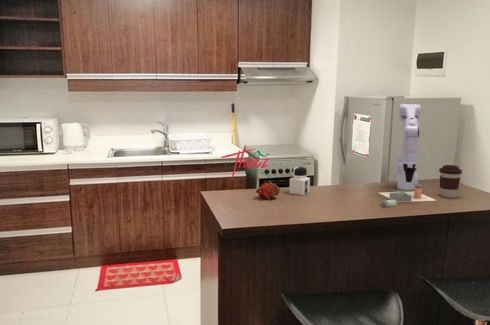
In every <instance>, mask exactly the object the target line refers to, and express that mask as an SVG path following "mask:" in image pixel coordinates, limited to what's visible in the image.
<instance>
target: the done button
mask: <svg viewBox="0 0 490 325" xmlns="http://www.w3.org/2000/svg"><path fill="white" fill-rule="evenodd" d="M395 192H396V195H398V196H405V192H406V191H405V190H396V191H395Z"/></svg>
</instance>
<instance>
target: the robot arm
mask: <svg viewBox="0 0 490 325" xmlns="http://www.w3.org/2000/svg"><path fill="white" fill-rule="evenodd" d="M421 106H422V105H421V104H420V103H417V104H416V103H413V104H412V103H409V104H408V103H400V104H399V111H398V120H399V121H401V122H402V123H403V136H402V138H403V139H402V152H401V153H400V154H399V155H398V156H397V157H396V161H395V172H397V183H396V184H397V190H398V189H399V190H400V191H412V190H413V191H414V190H415V184H419V175H418V174H417V173H416V172H417V168H418V167H417V166H418V164H417V163H418V160H417V159H418V147H419V146H418V145H419V138H420V134H421V126H420V125H419V120H420V116H421V111H422V110H421V109H422V107H421Z"/></svg>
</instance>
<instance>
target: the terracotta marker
mask: <svg viewBox="0 0 490 325" xmlns="http://www.w3.org/2000/svg"><path fill="white" fill-rule="evenodd" d="M413 191H414V197H415V198H421V194H422V192H423V184H419V183H418V184H415V189H414V190H413Z"/></svg>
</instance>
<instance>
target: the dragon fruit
mask: <svg viewBox="0 0 490 325" xmlns="http://www.w3.org/2000/svg"><path fill="white" fill-rule="evenodd" d="M280 190H281V189H280V186H278V184H277V183H272V182H271V181H269V182H268V183H267V182H263V184H260V185H259V187H258V188H257V189H256V191H255V193H256V194H257V197H259V198H261V199H267V200H270V199H274V197H276V196H277V197H278V196H279V194H280Z"/></svg>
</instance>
